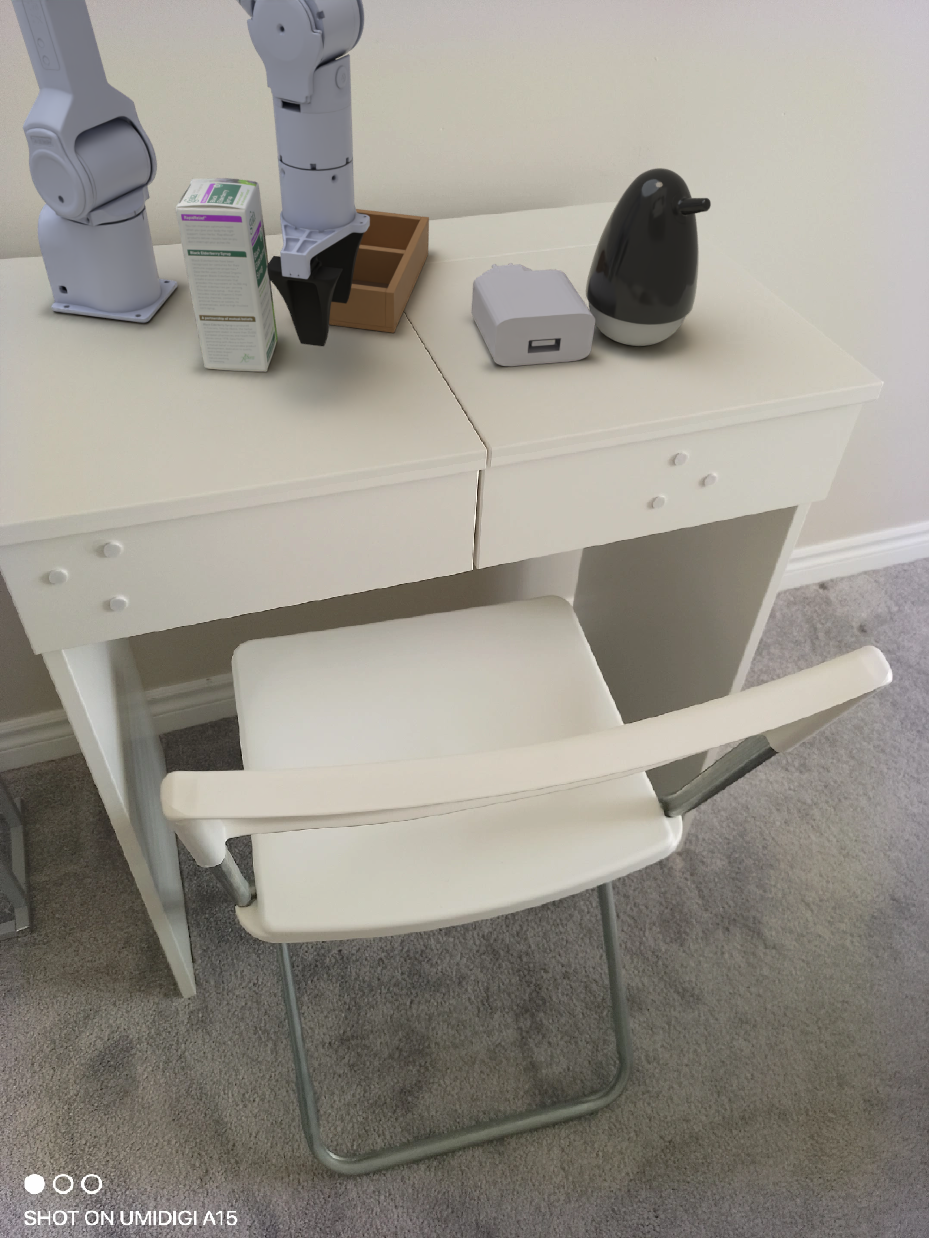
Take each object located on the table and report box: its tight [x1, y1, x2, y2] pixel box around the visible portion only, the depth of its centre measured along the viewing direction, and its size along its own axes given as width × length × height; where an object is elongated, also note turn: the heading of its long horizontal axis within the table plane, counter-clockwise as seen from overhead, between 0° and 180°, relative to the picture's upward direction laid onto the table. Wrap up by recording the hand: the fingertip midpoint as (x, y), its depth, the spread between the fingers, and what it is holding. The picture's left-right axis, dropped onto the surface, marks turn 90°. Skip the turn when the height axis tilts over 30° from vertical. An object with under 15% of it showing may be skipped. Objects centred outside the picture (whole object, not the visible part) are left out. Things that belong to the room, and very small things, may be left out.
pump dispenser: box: [585, 167, 712, 347], centre depth 87 cm, size 10×10×15 cm
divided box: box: [329, 208, 430, 334], centre depth 95 cm, size 9×17×4 cm, turn 171°
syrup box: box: [174, 177, 279, 372], centre depth 81 cm, size 6×6×14 cm
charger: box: [470, 262, 596, 367], centre depth 91 cm, size 5×9×15 cm
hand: (325, 321), depth 82 cm, fingers open, 7 cm apart
